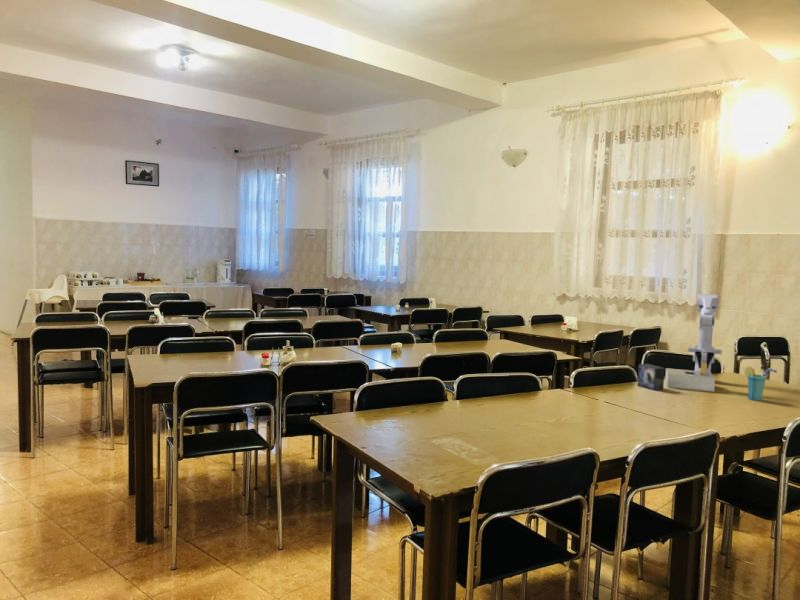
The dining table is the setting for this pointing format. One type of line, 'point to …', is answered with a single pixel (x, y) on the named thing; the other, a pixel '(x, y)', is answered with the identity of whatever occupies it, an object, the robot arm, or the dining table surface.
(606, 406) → the dining table surface
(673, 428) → the dining table surface
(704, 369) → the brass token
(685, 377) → the cash box
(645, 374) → the small box
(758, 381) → the cup
